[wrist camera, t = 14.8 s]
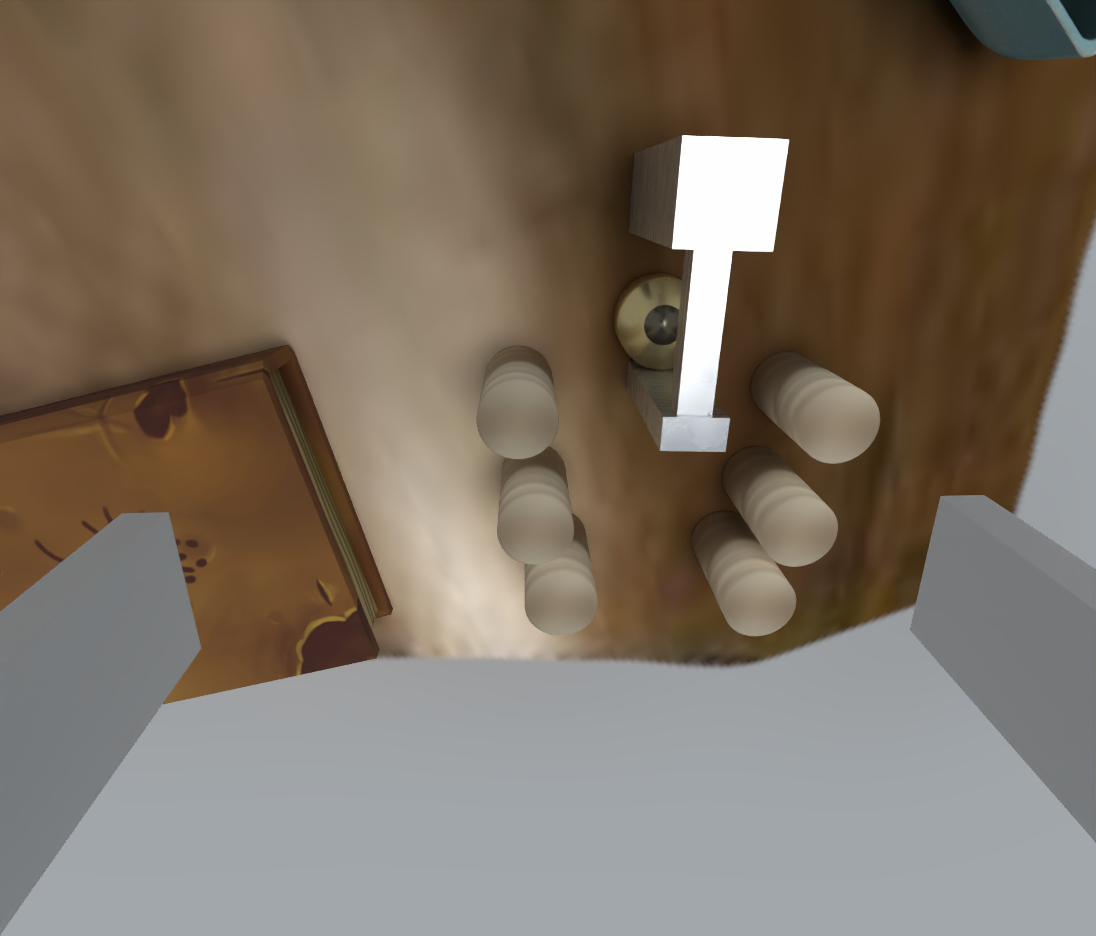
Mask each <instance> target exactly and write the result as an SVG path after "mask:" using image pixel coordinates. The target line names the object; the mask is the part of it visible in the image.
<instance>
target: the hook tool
mask: <svg viewBox="0 0 1096 936" xmlns="http://www.w3.org/2000/svg"><path fill="white" fill-rule="evenodd" d="M788 144H789V139H766V138H737V137H708V136H680V137H677V138H675V139H672V140H669V141H666V142H664V143H661V144H658V145H655V146H653V147H650V148H647V149H644V150H642V151H639V152H636V153H634V162H633V177H632V191H631V206H630V220H629V233H631V234H634V235H637V236H639V237H642V238H645V239H647V240H650V241H653V242H655V243H658V244H661V245H663V246H666V247H669V248H671V249H685V258H684V268H683V278H682V288H681V298H680V308H679V318H678V328H677V339H676V349H675V359H674V368H671V369H664V370H657V369H651V368H647V367H645V366H642V365H640V364H639V363H637V362H636V361H628V371H627V384H626V387H627V389H628V391H629V393H630V395H631V397H632V399H633V401H634V403H635V404H636V406H637V408H638V410H639V412H640V414H641V416H642V418H643V420H644V421H645V423H646V425H647V427H648V429H649V431H650V433H651V435H652V436H653V438H654V440H655V442H656V444H657V446H658V448H659V450H660V451H707V452H726V444H727V437H728V429H729V422H730V418H729V417H728V415H727V414H726V413H725V412H724V411H723V410H722V409H721V408H720V407H719V406H718V405H717V404H716V402H715V401H714V397H715V388H716V380H717V372H718V364H719V356H720V348H721V340H722V332H723V323H724V315H725V307H726V299H727V291H728V283H729V275H730V267H731V259H732V250H733V251H768V252H773V248H774V241H775V234H776V227H777V220H778V213H779V206H780V199H781V192H782V185H783V178H784V171H785V165H786V158H787V151H788Z"/></svg>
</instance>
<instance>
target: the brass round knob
mask: <svg viewBox="0 0 1096 936" xmlns="http://www.w3.org/2000/svg"><path fill="white" fill-rule="evenodd" d="M681 288H682V280H681V279H679V278H678V277H675V276H673V275H670V274H665V273H653V274H648V275H644V276H642V277H640V278H638V279H636V280H634V281H633V282H632V283H630V284H629V285H628V286H627V287H626V288H625V289H624V291H623V292H622V293H621V295H620V296H619V298H618V300H617V303H616V306H615V309H614V315H613V323H614V329H615V333H616V336H617V338H618V340H619V341H620V343H621V345H622V346H623V348H624V349H625V351H626V352H627V354H628V355H629V356H630V357H631V358H632V359H633V360H634V361H636V362H637V363H639V364H640V365H642V366H645V367H647V368H651V369H657V370H664V369H671V368H674V359H675V349H676V339H677V328H678V318H679V308H680V298H681Z"/></svg>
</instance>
